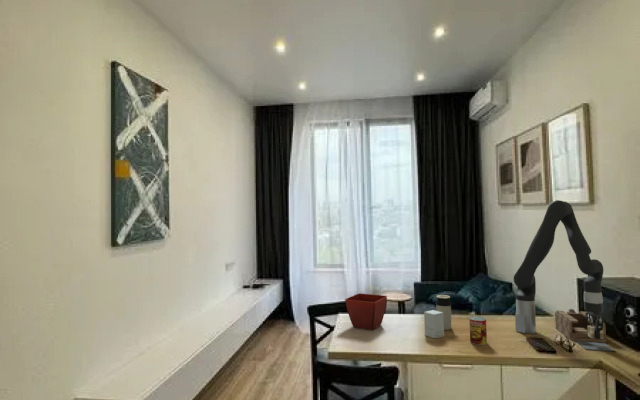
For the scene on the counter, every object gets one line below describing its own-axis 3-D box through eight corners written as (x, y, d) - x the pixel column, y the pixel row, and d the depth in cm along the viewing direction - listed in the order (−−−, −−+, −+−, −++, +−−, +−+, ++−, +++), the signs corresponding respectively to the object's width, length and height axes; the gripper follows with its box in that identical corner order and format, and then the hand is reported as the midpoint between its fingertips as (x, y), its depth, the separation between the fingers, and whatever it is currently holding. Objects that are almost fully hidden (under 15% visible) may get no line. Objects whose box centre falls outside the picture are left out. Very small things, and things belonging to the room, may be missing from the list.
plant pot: (344, 328, 223) (344, 298, 224) (359, 320, 239) (358, 293, 240) (375, 333, 213) (374, 302, 214) (388, 324, 229) (387, 295, 230)
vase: (581, 326, 218) (581, 311, 218) (568, 326, 219) (567, 310, 220) (576, 323, 225) (575, 308, 225) (563, 322, 226) (562, 307, 226)
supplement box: (444, 336, 205) (443, 312, 206) (434, 338, 201) (434, 314, 202) (434, 332, 211) (433, 309, 212) (424, 335, 208) (423, 311, 208)
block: (603, 338, 183) (603, 328, 183) (591, 338, 184) (591, 327, 185) (599, 336, 187) (599, 325, 187) (588, 335, 188) (587, 325, 189)
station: (620, 352, 178) (619, 330, 178) (581, 349, 182) (580, 328, 182) (588, 330, 211) (587, 311, 212) (555, 328, 215) (555, 310, 216)
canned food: (467, 342, 195) (466, 318, 196) (475, 338, 200) (474, 315, 201) (481, 346, 189) (480, 321, 189) (490, 342, 194) (489, 318, 194)
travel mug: (453, 330, 216) (452, 297, 217) (439, 330, 216) (438, 297, 217) (449, 325, 224) (448, 294, 225) (435, 326, 224) (434, 294, 225)
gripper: (578, 297, 194) (580, 332, 194) (590, 304, 181) (593, 341, 180) (595, 298, 193) (597, 333, 192) (609, 304, 179) (611, 342, 178)
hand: (595, 336), depth 186 cm, fingers closed on block, 4 cm apart
